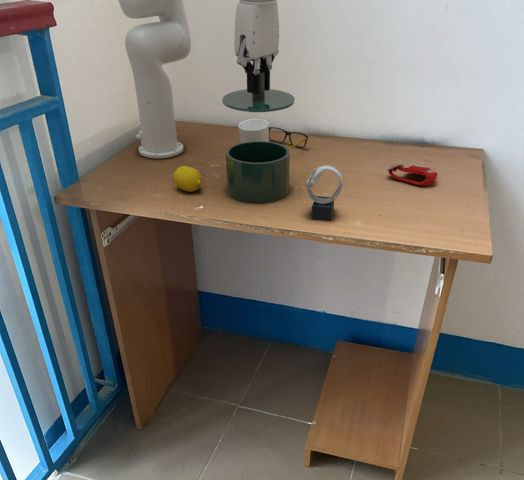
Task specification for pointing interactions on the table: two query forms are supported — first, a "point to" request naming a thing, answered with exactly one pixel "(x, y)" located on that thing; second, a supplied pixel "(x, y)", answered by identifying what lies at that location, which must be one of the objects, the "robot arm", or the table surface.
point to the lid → (258, 99)
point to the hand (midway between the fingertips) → (258, 90)
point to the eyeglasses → (290, 138)
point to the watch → (322, 205)
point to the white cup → (254, 130)
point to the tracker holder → (416, 170)
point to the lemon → (187, 178)
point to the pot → (257, 171)
